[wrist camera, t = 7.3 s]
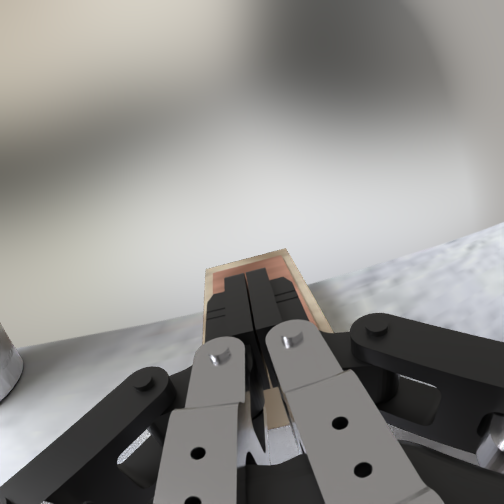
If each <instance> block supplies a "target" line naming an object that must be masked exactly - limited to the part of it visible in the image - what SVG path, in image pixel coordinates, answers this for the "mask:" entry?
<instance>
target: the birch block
mask: <svg viewBox="0 0 504 504" xmlns="http://www.w3.org/2000/svg"><path fill="white" fill-rule="evenodd" d="M264 267H265V268H266V271H267V274H268V277H269V280H272V279H276V278H280V277H285V278H286V279H288V280H290V281H291V282H292V283H293V285H294V288H295V290H296V292H297V294H298V297H299V299H300V301H301V303H302V305H303V308H304V310H305V312H306V314H307V317H308V319H309V321H310V322H311V323H313V324H314V325H315V326H316V327H317V328H318V330H320V331H323V332H327V333H334V332H333V330H332V329H331V327H330V325H329V323H328V321H327V320H326V318H325V316H324V314H323V312H322V311H321V309H320V307H319V305H318V304H317V302H316V300H315V298H314V296H313V295H312V293H311V291H310V289H309V288H308V286H307V284H306V282H305V281H304V279H303V277H302V275H301V274H300V272H299V270H298V268H297V267H296V265H295V263H294V262H293V260H292V258H291V256H290V255H289V253H288V251H287V250H286V248H285V249H281V250H277V251H273V252H270V253H266V254H262V255H258V256H254V257H251V258H247V259H243V260H239V261H235V262H232V263H228V264H224V265H220V266H216V267H213V268H209V269H206V275H205V293H204V315H203V342H202V345H203V344H205V328H206V314H207V312H206V311H207V302H208V301H209V299H210V298H211V297H212V295H213V294H216V293H220V292H224V291H225V289H224V278H225V277H229V276H233V275H237V274H241V273H244V274H245V277H246V272H249V271H253V270H256V269H260V268H264ZM246 281H247V277H246ZM247 284H248V283H247ZM267 372H268V370H267ZM268 377H269V373H268ZM269 382H270V388H271V389H267V390H263V392H264V398H265V404H264V405H265V408H266V413H267V427H268V430H270V429H274V428H278V427H282V426H286V425H290V424H289V421H288V418H287V415H286V412H285V409H284V406H283V402H282V399H281V395H280V392H279V388H278V387H275V388H273V387H272V383H271V380H270V377H269Z"/></svg>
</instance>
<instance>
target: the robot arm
mask: <svg viewBox="0 0 504 504" xmlns="http://www.w3.org/2000/svg"><path fill="white" fill-rule="evenodd" d="M246 277H247V281H246ZM246 277H245V274H244V273H241V274H237V275H233V276H229V277H225V278H224V289H225V291H224V292H220V293H216V294H213V295H212V297H211V298H210V299H209V301H208V302H207V311H206V312H207V314H206V328H205V344H203V345H202V346H201V347H200V348H199V349H198V350H197V352H196V353H195V356H194V361H193V365H192V366H191V367H189V368H187V369H185V370H183V371H181V372H178V373H176V374H174V375H171V376H168V374H167V372H166V371H165V370H164V369H162V368H159V367H146V368H143V369H140V370H138V371H136V372H134V373H133V374H131V375H130V376H129V377H128V378H127V379H125V380H124V381H123V382H122V383H121V384H120V385H119V386H117V387H116V388H115V389H114V390H113V391H112V392H111V393H109V394H108V395H107V396H106V397H105V398H104V399H102V400H101V401H100V402H99V403H98V404H97V405H96V406H94V407H93V408H92V409H91V410H90V411H89V412H88V413H86V414H85V415H84V416H83V417H82V418H81V419H79V420H78V421H77V422H76V423H75V424H74V425H72V426H71V427H70V428H69V429H68V430H67V431H66V432H64V433H63V434H62V435H61V436H60V437H59V438H57V439H56V440H55V441H54V442H53V443H52V444H50V445H49V446H48V447H47V448H46V449H45V450H43V451H42V452H41V453H40V454H39V455H37V456H36V457H35V458H34V459H33V460H32V461H30V462H29V463H28V464H27V465H26V466H25V467H23V468H22V469H21V470H20V471H19V472H17V473H16V474H15V475H14V476H13V477H12V478H10V479H9V480H8V481H7V482H6V483H4V484H3V485H2V486H1V487H0V504H504V342H500V341H495V340H491V339H487V338H483V337H478V336H474V335H470V334H466V333H462V332H458V331H454V330H450V329H445V328H441V327H437V326H433V325H429V324H425V323H421V322H417V321H413V320H410V319H406V318H402V317H398V316H394V315H390V314H385V313H373V314H368V315H365V316H363V317H361V318H359V319H358V320H356V321H355V322H354V323H353V325H352V326H351V329H350V332H344V333H327V332H323V331H320V330H318V328H317V327H316V326H315V325H314V324H313V323H311V322H310V321H309V319H308V317H307V314H306V312H305V310H304V308H303V305H302V303H301V301H300V299H299V297H298V294H297V292H296V290H295V288H294V285H293V283H292V282H291V281H290V280H288V279H286V278H285V277H280V278H276V279H272V280H269V277H268V274H267V271H266V268H265V267H264V268H260V269H256V270H253V271H249V272H246ZM247 283H248V284H247ZM22 369H23V360H22V358H21V356H20V355H19V353H18V352H17V350H16V349H15V347H14V345H13V344H12V342H11V341H10V339H9V337H8V335H7V334H6V332H5V330H4V329H3V327H2V325H1V323H0V401H1V400H2V399H3V398H4V397H5V396H6V395H7V394H8V393H9V392H10V391H11V390H12V388H13V387H14V386H15V384H16V383H17V381H18V379H19V377H20V375H21V372H22ZM267 370H268V372H267ZM268 373H269V377H270V380H271V383H272V387H273V388H275V387H278V388H279V392H280V395H281V399H282V402H283V406H284V409H285V412H286V415H287V418H288V421H289V424H290V427H291V429H292V432H293V435H294V438H295V441H296V444H297V447H298V450H299V453H300V455H298V456H296V457H294V458H292V459H290V460H288V461H285V462H283V463H281V464H278V465H271V464H270V457H269V442H268V427H267V413H266V408H265V405H264V404H265V398H264V392H263V390H267V389H271V388H270V382H269V377H268ZM400 374H401V375H404V376H407V377H410V378H413V379H416V380H419V381H422V382H425V383H429V384H431V385H434V386H435V387H437V388H434V387H431V386H428V385H425V384H422V383H419V382H415V381H412V380H409V379H406V378H403V377H400ZM387 423H388V424H390V425H393V426H395V427H398V428H401V429H403V430H406V431H408V432H411V433H414V434H416V435H419V436H422V437H425V438H428V439H430V440H433V441H436V442H439V443H442V444H445V445H448V446H451V447H454V448H457V449H460V450H463V451H467V452H470V453H473V454H476V456H477V460H478V463H479V465H480V466H481V467H480V466H477V465H474V464H471V463H468V462H465V461H462V460H460V459H457V458H454V457H451V456H449V455H446V454H443V453H441V452H438V451H436V450H433V449H431V448H428V447H426V446H423V445H420V444H417V443H413V442H409V441H404V440H397V439H396V437H395V436H394V434H393V433H392V431H391V429H390V428H389V426H388V424H387ZM146 429H147V430H148V431H149V432H150V434H151V436H150V437H149V438H148V439H147V440H146V441H145V442H144V443H143V444H142V445H141V446H140V447H139V448H137V449H136V450H135V451H134V452H133V453H132V454H131V455H130V456H129V457H128V458H127V459H126V460H125V461H124V462H123V463H121V464H118V465H117V459H118V457H119V456H120V454H121V453H122V452H123V451H124V450H125V449H126V448H127V447H128V446H129V445H131V444H132V443H133V442H134V441H135V440H136V439H137V438H138V437H139V436H140V435H141V434H142V433H143V432H144V431H145V430H146Z"/></svg>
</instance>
